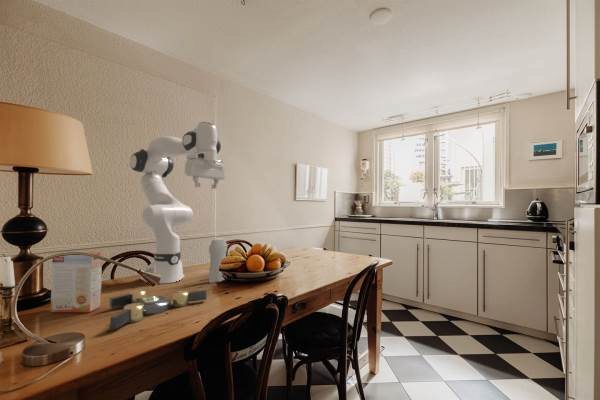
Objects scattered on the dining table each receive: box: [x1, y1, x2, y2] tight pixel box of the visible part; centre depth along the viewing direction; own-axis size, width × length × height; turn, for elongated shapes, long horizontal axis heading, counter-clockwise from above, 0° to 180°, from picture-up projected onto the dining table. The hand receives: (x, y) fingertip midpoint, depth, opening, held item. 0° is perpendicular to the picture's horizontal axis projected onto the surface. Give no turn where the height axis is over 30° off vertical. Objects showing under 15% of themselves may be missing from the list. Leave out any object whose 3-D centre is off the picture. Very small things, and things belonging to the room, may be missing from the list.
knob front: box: [109, 303, 144, 330], centre depth 89 cm, size 12×6×4 cm, turn 177°
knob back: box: [109, 288, 147, 309], centre depth 105 cm, size 12×6×4 cm, turn 147°
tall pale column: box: [208, 237, 228, 284], centre depth 141 cm, size 11×4×22 cm, turn 140°
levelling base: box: [132, 295, 172, 317], centre depth 102 cm, size 13×13×5 cm
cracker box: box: [50, 251, 103, 313], centre depth 100 cm, size 14×6×21 cm, turn 90°
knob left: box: [172, 289, 207, 308], centre depth 108 cm, size 12×6×4 cm, turn 117°
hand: (206, 187), depth 125 cm, fingers open, 8 cm apart
